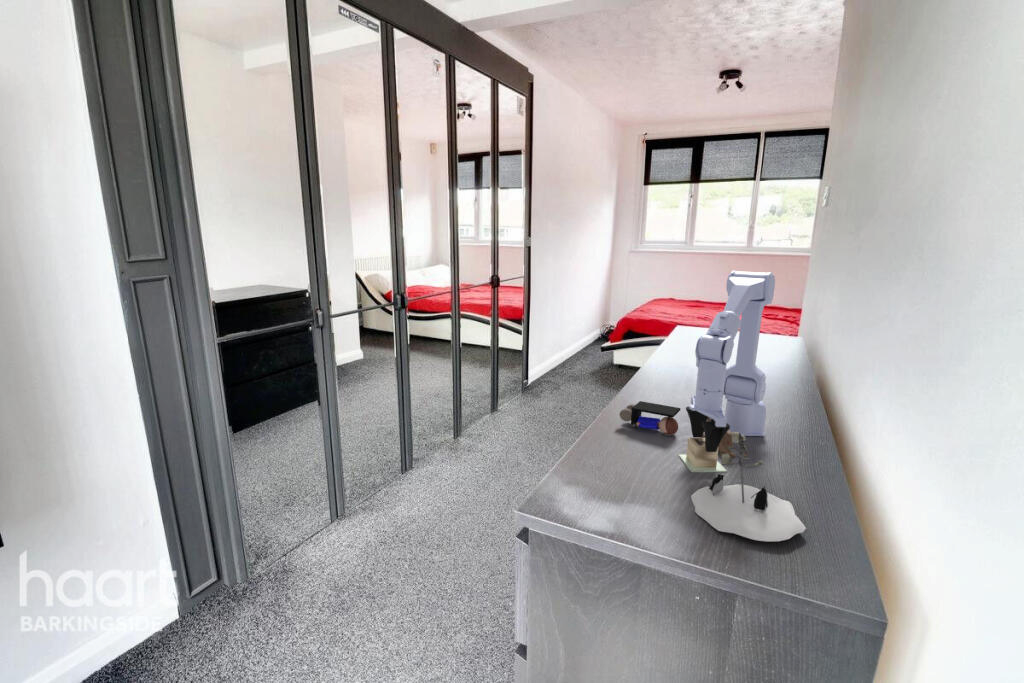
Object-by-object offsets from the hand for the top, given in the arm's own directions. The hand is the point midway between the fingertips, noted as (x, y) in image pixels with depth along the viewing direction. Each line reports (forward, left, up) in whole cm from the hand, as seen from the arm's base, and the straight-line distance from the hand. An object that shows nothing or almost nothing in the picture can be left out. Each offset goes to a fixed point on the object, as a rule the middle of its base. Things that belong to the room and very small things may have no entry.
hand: (703, 443), depth 108 cm
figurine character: (+7, -20, -5) cm, 21 cm away
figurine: (0, +21, -6) cm, 21 cm away
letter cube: (0, 0, -5) cm, 5 cm away
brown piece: (-8, -9, -5) cm, 13 cm away
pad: (0, 0, -5) cm, 5 cm away
